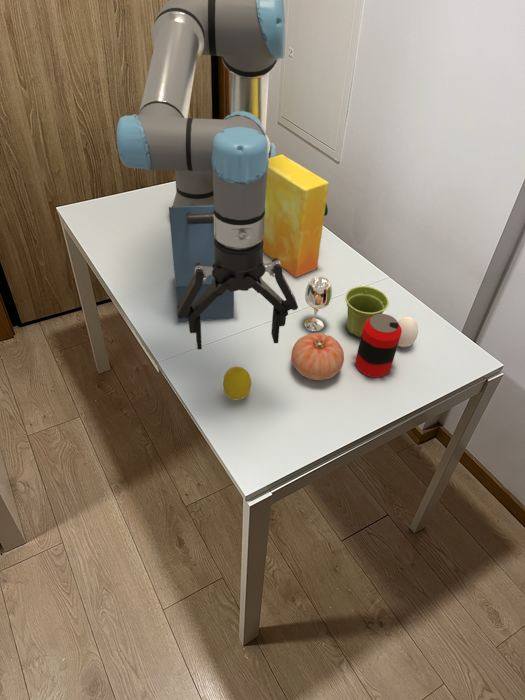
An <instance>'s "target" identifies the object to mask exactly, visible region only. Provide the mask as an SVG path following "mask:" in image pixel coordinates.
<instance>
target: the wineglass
mask: <svg viewBox="0 0 525 700" xmlns="http://www.w3.org/2000/svg"><path fill="white" fill-rule="evenodd" d="M332 296H333V288H332V282H331V280H330V279H329V278H328V277H324V276H320V275H318V276H313V277H312V278H310V279H309V281H308V283H307V285H306V288H305V292H304V300H305V302H306V305H308V306H309V307H310V308H311V309H313V315H314V316H313V317H310V318H307V319H306V320H305V321H304V323H303V325H304V328H306V329H307V330H308V331H309V332H310V331H311V332H319V331H322V330H323V329H324V327H325V326H324V322H323V321H322V320H321V319H319V318H317V315H318V313H319V310H322V309H325V308H327V307H328V306H329V305H330V303H331V300H332Z"/></svg>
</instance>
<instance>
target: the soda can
mask: <svg viewBox="0 0 525 700" xmlns="http://www.w3.org/2000/svg"><path fill="white" fill-rule="evenodd" d="M401 333H402V329H401V327H400V325H399V324H398V320H397V319H396V318H395V317H394V316H392V315H390V314H387V313H382V314H376V315H374V316H372V317H370V318H368V319H367V320H366V321H365V323H364V326H363V330H362V334H361V337H360V339H359V343H358V348H357V352H356V356H355V366H356V368H357V370H358V371H360V372H361V373H362V374H364V376H367V377H369V378H371V377H372V378H381V377H384V376H387V375H388V374H389V373H390V372H391V369H392V366H393V363H394V360H395V356H396V352H397V349H398V347H399V346H398V343H399V340H400V337H401Z"/></svg>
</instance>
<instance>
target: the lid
mask: <svg viewBox="0 0 525 700" xmlns="http://www.w3.org/2000/svg"><path fill="white" fill-rule="evenodd" d="M168 215H169V216H168V217H169V226H170V238H171V239H170V240H171V251H172V261H173V272H174V273H173V274H174V285H175V287H176V286H188V284H189V282H190V281H191V279H192V277H193V275H194V267H195V264H196V263H201V264H202V266H211V267H212V266H213V264H214V261H215V259H214V239H215V237H214V205H208V206H185V207H172V206H169V207H168ZM213 279H214V277H213V275H210V276H208V278H207V279H206V281H203V283H202V285H204V284H211V283H212V280H213Z"/></svg>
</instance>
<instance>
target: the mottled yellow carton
mask: <svg viewBox="0 0 525 700" xmlns="http://www.w3.org/2000/svg"><path fill="white" fill-rule="evenodd" d="M268 159H269V166H268V170H267V187H266V200H265V222H264V237H263V241H264V244H263V254H265V255H267V256H268V257H269V258H270V259H271V260H273V259H274V258H278V259H279V261H280V264H281V267H282V269H284V270H286V271H287V272H288V273H290V274H291V275H292V276H293V277H294V278H298V277H300V276H303V275H305V274H307V273H309V272H312V271H314V270H317V269H318V263H319V256H320V249H321V240H322V236H323V235H322V234H323V228H324V227H323V226H324V219H325V217H326V216H327V215H328V213H329V210H328V209H329V208H328V204H327V199H328V191H329V184H330V183H329V181H327V180H326V179H324V178H322V176H319V175H317V174H315V173H313V172H312V171H311V170H309V169H308V168H306V167H304V166H302V165H301V164H299V163H297V162H295V161H294V160H292V159H290V158H289V157H287V156H286V155H284V154H279V155H275V157H271V158H268Z"/></svg>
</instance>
